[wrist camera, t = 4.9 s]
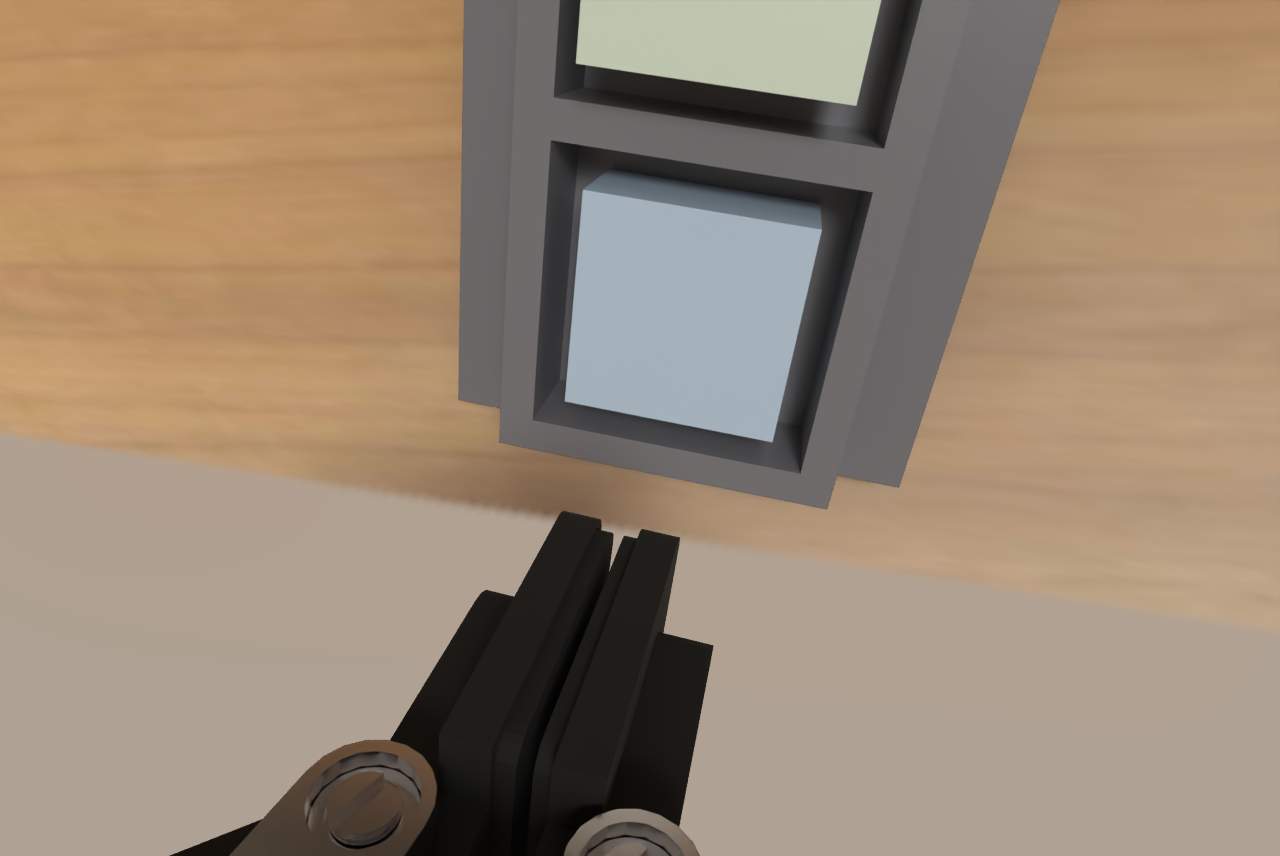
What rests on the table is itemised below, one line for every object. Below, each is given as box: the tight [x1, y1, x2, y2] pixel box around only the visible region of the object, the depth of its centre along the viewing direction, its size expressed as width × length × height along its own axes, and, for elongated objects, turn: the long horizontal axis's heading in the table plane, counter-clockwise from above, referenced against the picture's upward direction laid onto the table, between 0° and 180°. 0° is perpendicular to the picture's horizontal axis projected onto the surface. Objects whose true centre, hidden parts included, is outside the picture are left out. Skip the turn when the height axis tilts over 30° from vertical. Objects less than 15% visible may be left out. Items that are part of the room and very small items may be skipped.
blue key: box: [565, 169, 822, 442], centre depth 23 cm, size 6×6×3 cm
